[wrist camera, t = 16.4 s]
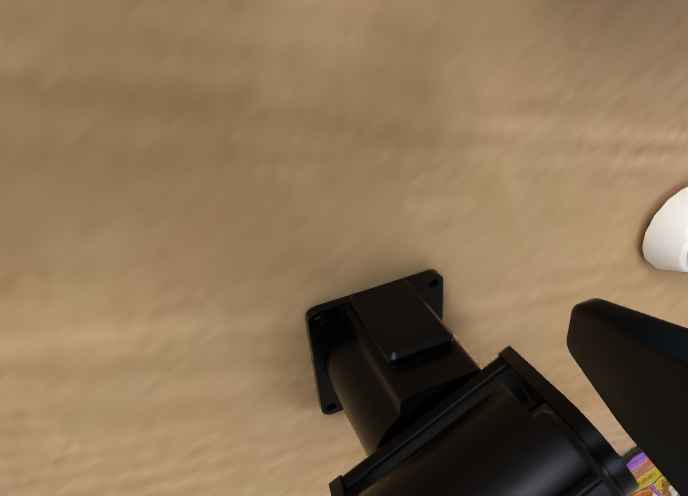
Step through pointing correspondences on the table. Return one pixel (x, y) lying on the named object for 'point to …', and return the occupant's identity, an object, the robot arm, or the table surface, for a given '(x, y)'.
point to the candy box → (647, 476)
